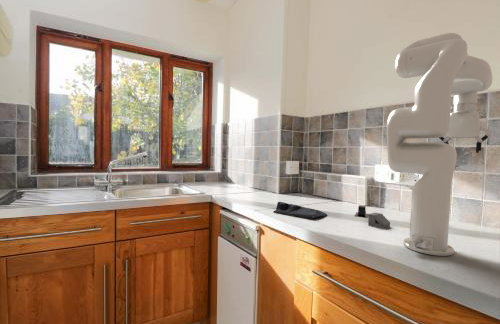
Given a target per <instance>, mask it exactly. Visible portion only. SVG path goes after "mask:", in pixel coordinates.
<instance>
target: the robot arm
mask: <svg viewBox="0 0 500 324" xmlns="http://www.w3.org/2000/svg"><path fill="white" fill-rule="evenodd" d="M394 63H395V64H394V69H395V72H396V74H397V75H398V76H399V77H400V78H402V79H410V78H416V77H421V78H420V79H419V81H418V83H417V84H416V85H415V87H414V105H413V106H405V107H398V108H396V109H393V110H392V111H391V112H390V113H389V115H388V117H387V121H386V122H387V123H386V143H387V146H386V147H387V160H388V161H387V162H388V167H389V168H390V169H391V171H394V172H396V173H405V174H417V175H421V177H420V179H418V180H417V181H416V182H415V183H414V184H413V186H412V190H411V200H410V201H411V203H410V204H411V205H410V224H409V237H407V238H404V239H403V243H402V244H403V246H405V248H407V249H409V250H412V251H415V252H418V253H422V254H426V255H431V256H436V257H437V256H439V257H447V256H448V257H449V256H452V255H453V254H455V249H454V248H453V246H451V245H450V244H448V243H449V228H450V227H449V226H450V209H451V192H452V191H451V190H452V184H453V183H452V182H453V177H454V173H455V172H454V171H455V167H456V164H457V159H458V152H457V150H456V148H455V147H454V146H453V145H451V144H450V143H449V141H450V140H452V139H472V138H473V139H475V140H476V141H477V142H476V144H475V145H476V146H475V153H477V154H478V153H480V152H481V151H482V143H483V142H484V141H485V140H486V141H487V139H488V138H489V137H490V136H491V134H492V133H493V131H492V130H491V129H488V128H485V127H482V126H481V123H480V122H481V120H480V119H481V118H480V112H479V111H477V107H478V94H479V93H478V92H484V91H487V90H489V88H490V87H491V86H492V84H493V73H492V69H491V66H490V64H489V62H488V61H486V60H484V59H483V58H478V57H475V56H473V55H472V56H471V55H469V54H468V43H467V41H466V40H464V39H463V37H462V36H461V35H460V34H458V33H455V32H448V33H447V32H446V33H443V34H442V33H441V34H439V35H435V36H431V37H426V38H422V39H419V40H418V39H417V40H416V41H413V42H412V43H411V44H409V45H407V46H406V47H405V48H403V49H402V50H401V51H400V52H399V53H398V54H397V56H396V59H395V62H394ZM451 103H452V104H451ZM480 131H481V132H483V133H485V135H484V136H483V137H482V136H481V137H480ZM445 136H446V137H445ZM437 138H439V140H441V142H437V141H436V142H435V141H434V142H433V141H432V142H431V141H428V142H425V141H424V142H407V140H408V139H411V140H412V139H437Z"/></svg>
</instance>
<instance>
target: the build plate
mask: <svg viewBox="0 0 500 324" xmlns="http://www.w3.org/2000/svg"><path fill="white" fill-rule="evenodd" d="M369 214H370V213H367V206H366V205H361V204H359V205H358V208H357V212H356V213H355V214H354V217H358V218H365V219H369Z"/></svg>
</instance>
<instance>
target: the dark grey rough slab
mask: <svg viewBox="0 0 500 324" xmlns="http://www.w3.org/2000/svg"><path fill="white" fill-rule="evenodd" d="M276 203H277V205H276V208H275V210H273V213H275V214H280V215H284V216H285V215H286V216H290V217H291V216H292V217H297V218H304V219H311V220H312V219H313V220H314V219H317V218H325V217H327V216H328V214H327V213H326V212H324V211H322V210H318V209H315V208H310V207H305V206H301V205H298V204H293V203H287V202H283V201H278V202H276Z"/></svg>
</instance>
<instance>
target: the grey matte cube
mask: <svg viewBox="0 0 500 324" xmlns="http://www.w3.org/2000/svg"><path fill="white" fill-rule="evenodd" d="M368 214H369V216H368V218H367V219H368V220H367V223H368V224H367V226H369V227H372V228H377V229H381V230H385V229H389V228H390V227H391V222H390V220H388V218H386V216H384V214H383V213H378V212H372V213H368Z"/></svg>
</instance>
